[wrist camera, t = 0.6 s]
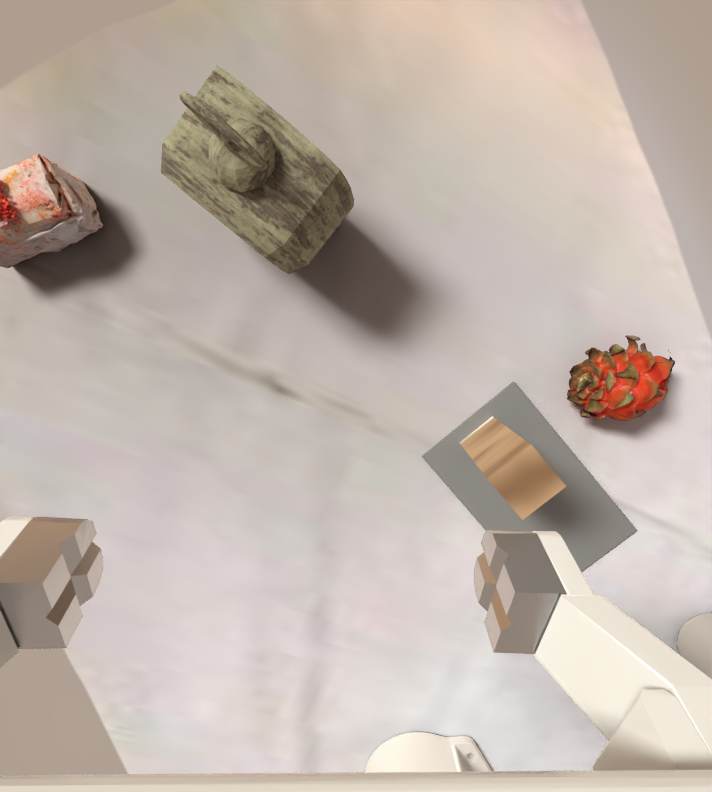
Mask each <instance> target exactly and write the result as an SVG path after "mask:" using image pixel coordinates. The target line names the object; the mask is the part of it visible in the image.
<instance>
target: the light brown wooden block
mask: <svg viewBox="0 0 712 792" xmlns="http://www.w3.org/2000/svg"><path fill="white" fill-rule="evenodd" d="M460 444H461V446H462V447H463V448H464V449H465V451H466V452H467V453H468V455H469V456H470V457H471V458H472V460H473V461H474V462H475V464H476V465H477V466H478V468H479V469H480V470H481V471H482V473H483V474H484V475H485V477H486V478H487V479H488V480H489V482H490V483H491V484H492V485H493V486H494V487H495V489H496V490H497V491H498V492H499V493H500V494H501V496H502V497H503V498H504V499H505V500H506V501H507V503H508V504H509V505H510V506H511V507H512V508H513V510H514V511H515V512H516V513H517V514H518V516H519V517H520V518H521V519H522V520H523V519H525V518H526V517H527V516H529V515H530V514H531V513H533V512H534V511H535V510H536V509H538V508H539V507H540V506H542V505H543V504H544V503H545V502H547V501H548V500H549V499H551V498H552V497H553V496H555V495H556V494H557V493H558V492H560V491H561V490H562V489H564V488H565V487H566V485H565V484H564V483H563V482H562V480H561V479H560V478H559V477H558V476H557V474H556V473H555V472H554V471H553V470H552V468H551V467H550V466H549V465H548V464H547V462H546V461H545V460H544V459H543V458H542V456H541V455H540V454H539V453H538V452H537V450H536V449H535V448H534V447H533V446H532V445H531V444H530V443H528V442H527V441H526V440H524V439H523V438H521V437H520V436H519V435H517V434H516V433H515V432H513V431H512V430H511V429H509V428H508V427H506V426H505V425H504V424H502V423H501V422H500V421H498V420H497V419H495V418H494V417H493V416H492V417H491V418H489V419H488V420H487V421H486V422H484V423H483V424H482V425H481V426H479V427H478V428H477V429H476V430H475V431H473V432H472V433H471V434H470V435H468V436H467V437H466V438H465V439H463V440H462V441H461V442H460Z"/></svg>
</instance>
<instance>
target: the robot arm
mask: <svg viewBox="0 0 712 792" xmlns="http://www.w3.org/2000/svg"><path fill="white" fill-rule="evenodd" d="M95 535H96V530H95V527H94V524H93V521H91V520H87V519H70V518H51V517H22V516H10V517H8V518H6V519H4V520H3V521H2V522H1V523H0V668H1V667H2V666H3V665H4V664H5V663H6V662H8V661H9V660H10V659H11V658H12V657H13V656H14V655H16V654H17V653H18V652H19V650H18V649H41V648H43V649H48V648H67V646H68V644H69V642H70V640H71V638H72V636H73V634H74V632H75V630H76V629H77V627H78V625H79V623H80V621H81V619H82V617H83V615H82V612H81V609H80V606H81V605H82V604H83V603H85V602H86V601H88V600H89V599H90V598H92V597H93V596H94V594H95V591H96V589H97V587H98V585H99V583H100V579H101V575H102V571H103V556H102V552H101V549H100V548H99V547H98V546H97V545H95V544H94V543H93V542H92V540H93V539H94V537H95ZM481 544H482V547H483V550H484V553H482V554H481V555H480V556H479V557H477V560H476V564H475V568H474V585H475V592H476V595H477V599H478V602H479V604H480V605H481V606H482V607H483V608H484V609H486V610H487V611H488V612H487V615H486V619H485V622H484V623H485V626H486V629H487V632H488V635H489V639H490V642H491V645H492V648H493V652H497V653H523V654H535V657H536V659H537V660H538V661H539V662H540V663H541V664H542V665H543V667H544V668H545V669H546V670H547V671H548V672H549V673H550V674H551V676H552V677H553V678H554V679H555V680H556V681H557V682H558V684H559V685H560V686H561V687H562V688H563V689H564V690H565V692H566V693H567V694H568V695H569V696H570V697H571V698H572V700H573V701H574V702H575V703H576V704H577V705H578V706H579V707H580V709H581V710H582V711H583V712H584V713H585V714H586V715H587V717H588V718H589V719H590V720H591V721H592V722H593V723H594V725H595V726H596V727H597V728H598V729H599V730H600V731H601V732H602V734H603V735H604V736H605V737H606V738H607V739H608V740H609V741H608V743H607V745H606V746H605V748H604V749H603V751H602V752H601V754H600V755H599V757H598V758H597V760H596V762H595V764H594V766H593V769H594V771H492V770H491V768H490V767H489V765H488V763H487V762H486V760H485V758H484V757H483V755H482V753H481V752H480V750H479V748H478V747H477V745H476V743H475V742H474V740H473V739H472V738H470V737H468V736H454V737H443V736H439V735H435V734H431V733H425V732H411V733H405V734H401V735H398V736H395V737H393V738H391V739H389V740H387V741H386V742H384V743H383V744H382V745H380V746H379V747H378V748H377V749H376V750H375V752H374V753H373V754H372V756H371V757H370V759H369V761H368V763H367V766H366V770H365V772H356V773H231V774H125V775H123V774H122V775H16V776H15V775H14V776H13V775H12V776H0V792H712V679H711V678H709V677H708V676H707V675H705V674H704V673H703V672H701V671H700V670H699V669H697V668H696V667H695V666H693V665H692V664H691V663H690V662H688V661H687V660H686V659H684V658H683V657H682V656H680V655H679V654H678V653H676V652H675V651H674V650H672V649H671V648H670V647H668V646H667V645H666V644H665V643H663V642H662V641H661V640H659V639H658V638H657V637H655V636H654V635H653V634H651V633H650V632H649V631H647V630H646V629H645V628H643V627H642V626H641V625H640V624H638V623H637V622H636V621H634V620H633V619H632V618H630V617H629V616H628V615H626V614H625V613H624V612H622V611H621V610H620V609H618V608H617V607H616V606H615V605H613V604H612V603H611V602H609V601H608V600H607V599H605V598H604V597H603V596H599V595H594V594H593V592H592V590H591V588H590V587H589V585H588V583H587V581H586V579H585V578H584V576H583V574H582V572H581V571H580V569H579V567H578V565H577V563H576V562H575V560H574V558H573V556H572V554H571V553H570V551H569V549H568V547H567V546H566V544H565V542H564V540H563V538H562V537H561V535H560V534H559V533H557V532H556V531H503V530H487V531H486V532H485V534H484V535H483V539H482V542H481ZM469 753H471V754H469Z"/></svg>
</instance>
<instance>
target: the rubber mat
mask: <svg viewBox="0 0 712 792" xmlns="http://www.w3.org/2000/svg"><path fill="white" fill-rule="evenodd" d="M492 416H493V417H494V418H495V419H497V420H498V421H500V422H501V423H502V424H504V425H505V426H506V427H508V428H509V429H511V430H512V431H513V432H515V433H516V434H517V435H519V436H520V437H521V438H523V439H524V440H526V441H527V442H528V443H530V444H531V445H532V446H533V447H534V448H535V449H536V450H537V452H538V453H539V454H540V455H541V456H542V458H543V459H544V460H545V461H546V462H547V464H548V465H549V466H550V467H551V468H552V470H553V471H554V472H555V473H556V474H557V476H558V477H559V478H560V479H561V480H562V482H563V483H564V484H565V485H566V487H565V488H564V489H562V490H561V491H560V492H558V493H557V494H556V495H555V496H553V497H552V498H551V499H549V500H548V501H547V502H545V503H544V504H543V505H542V506H540V507H539V508H538V509H536V510H535V511H534V512H533V513H531V514H530V515H529V516H527V517H526V518H525V519H523V520H522V519H521V518H520V517H519V516H518V514H517V513H516V512H515V511H514V510H513V508H512V507H511V506H510V505H509V504H508V503H507V501H506V500H505V499H504V498H503V497H502V496H501V494H500V493H499V492H498V491H497V490H496V489H495V487H494V486H493V485H492V484H491V483H490V482H489V480H488V479H487V478H486V477H485V475H484V474H483V473H482V471H481V470H480V469H479V468H478V466H477V465H476V464H475V462H474V461H473V460H472V458H471V457H470V456H469V455H468V453H467V452H466V451H465V449H464V448H463V447H462V446H461V444H460V442H461V441H462V440H463V439H465V438H466V437H467V436H468V435H470V434H471V433H472V432H473V431H475V430H476V429H477V428H478V427H479V426H481V425H482V424H483V423H484V422H486V421H487V420H488V419H489V418H491V417H492ZM422 457H423V458H424V460H425V461H426V462H427V463H428V464H429V465H430V467H431V468H432V469H433V470H434V471H435V472H436V473H437V475H438V476H439V477H440V478H441V479H442V480H443V482H444V483H445V484H446V485H447V486H448V487H449V488H450V490H451V491H452V492H453V493H454V494H455V495H456V497H457V498H458V499H459V500H460V501H461V502H462V503H463V505H464V506H465V507H466V508H467V509H468V510H469V512H470V513H471V514H472V515H473V516H474V517H475V518H476V520H477V521H478V522H479V523H480V524H481V525H482V527H483V528H484V529H485V530H486V531H487V530H503V531H556V532H557V533H559V534H560V535H561V537H562V538H563V540H564V542H565V544H566V546H567V547H568V549H569V551H570V553H571V554H572V556H573V558H574V560H575V562H576V563H577V565H578V567H579V569H580V571H581V572H582V571H583V570H584V569H586V568H587V567H588V566H590V565H591V564H592V563H594V562H595V561H596V560H598V559H599V558H601V557H602V556H603V555H605V554H606V553H607V552H609V551H610V550H611V549H613V548H614V547H615V546H617V545H618V544H619V543H621V542H622V541H623V540H625V539H626V538H627V537H629V536H630V535H631V534H633V533H634V532H636V531H637V530H636V528H635V527H634V526H633V525H632V524H631V522H630V521H629V520H628V519H627V518H626V516H625V515H624V514H623V513H622V511H621V510H620V509H619V508H618V507H617V505H616V504H615V503H614V502H613V501H612V499H611V498H610V497H609V496H608V495H607V493H606V492H605V491H604V490H603V489H602V487H601V486H600V485H599V484H598V482H597V481H596V480H595V479H594V478H593V476H592V475H591V474H590V473H589V472H588V470H587V469H586V468H585V467H584V466H583V464H582V463H581V462H580V461H579V459H578V458H577V457H576V456H575V455H574V453H573V452H572V451H571V450H570V449H569V447H568V446H567V445H566V444H565V443H564V441H563V440H562V439H561V438H560V437H559V435H558V434H557V433H556V432H555V430H554V429H553V428H552V427H551V426H550V424H549V423H548V422H547V421H546V420H545V418H544V417H543V416H542V415H541V414H540V412H539V411H538V410H537V409H536V407H535V406H534V405H533V404H532V403H531V401H530V400H529V399H528V398H527V397H526V395H525V394H524V393H523V392H522V391H521V389H520V388H519V387H518V386H517V385H516V383H515V382H512V383H511V384H510V385H509V386H508V387H506V388H505V389H504V390H503V391H501V392H500V393H499V394H498V395H497V396H495V397H494V398H493V399H492V400H490V401H489V402H488V403H487V404H485V405H484V406H483V407H482V408H481V409H479V410H478V411H477V412H476V413H474V414H473V415H472V416H471V417H470V418H468V419H467V420H466V421H465V422H463V423H462V424H461V425H460V426H459V427H457V428H456V429H455V430H454V431H452V432H451V433H450V434H449V435H447V436H446V437H445V438H444V439H443V440H441V441H440V442H439V443H438V444H436V445H435V446H434V447H433V448H432V449H430V450H429V451H428V452H427V453H425V454H424V455H423V456H422Z"/></svg>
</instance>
